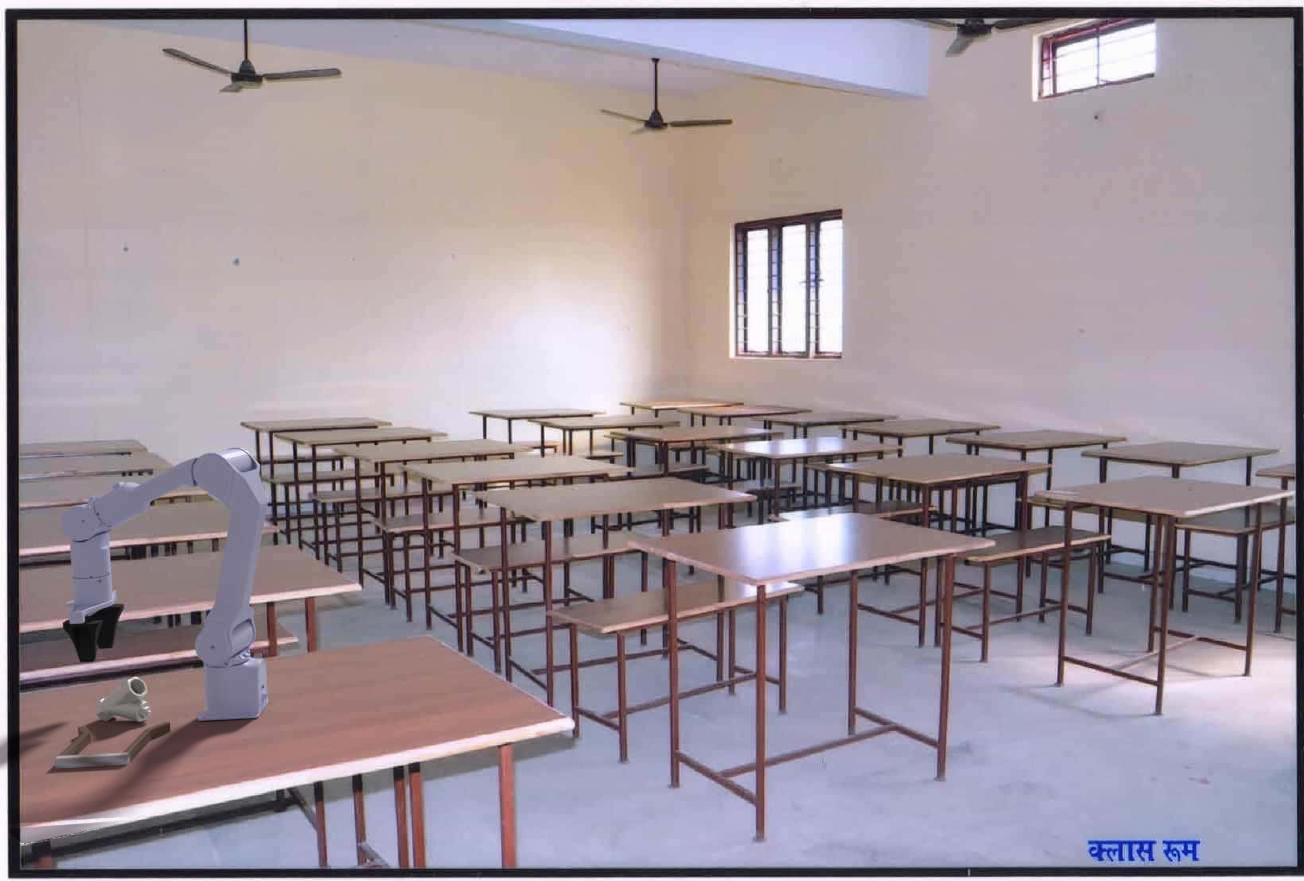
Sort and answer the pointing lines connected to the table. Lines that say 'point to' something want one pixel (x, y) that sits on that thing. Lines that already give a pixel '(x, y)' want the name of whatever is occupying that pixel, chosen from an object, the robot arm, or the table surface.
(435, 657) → the table surface
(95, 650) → the robot arm
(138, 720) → the pipe fitting
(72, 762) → the angular open frame
